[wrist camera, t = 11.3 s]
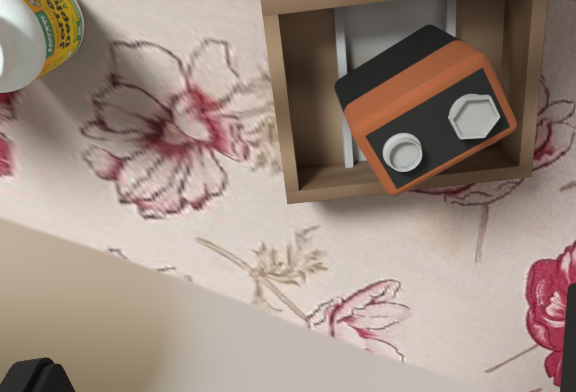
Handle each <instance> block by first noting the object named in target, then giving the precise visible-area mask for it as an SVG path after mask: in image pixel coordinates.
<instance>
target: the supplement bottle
mask: <svg viewBox="0 0 576 392" xmlns="http://www.w3.org/2000/svg"><path fill="white" fill-rule="evenodd" d="M83 36H84V18H83V14H82V12H81V9H80V7H79V5H78V3H77V1H76V0H0V93H6V92H12V91H16V90H19V89H21V88H23V87H25V86H27V85H28V84H30V83H32V82H33V81H35V80H36V79H38V78H40V77H41V76H43V75H44V74H46V73H48V72H49V71H51V70H53V69H54V68H56V67H58V66H59V65H61V64H62V63H64V62H65V61H67V60H68V59H70V58H71V57H72V56H73V55H74V54H75V53H76V52H77V50H78V49H79V47H80V45H81V42H82V39H83Z"/></svg>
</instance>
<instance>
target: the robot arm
mask: <svg viewBox="0 0 576 392" xmlns="http://www.w3.org/2000/svg"><path fill="white" fill-rule="evenodd" d="M0 392H75V390H74V388H73V386H72V385H71V382H70V380H69V378H68V376H67V375H66V372H65V370H64V369H63V367H62V366H61V365H60V364H55V363H54V362H53V361H52V360H51V359H50V358H39V359H32V360H26V361H19V362H16V363H15V364H13V365H12V366H11V368H10V369H9V371H8V373H7V374H6V376H5V378H4V379H3V381H2V383H1V384H0ZM560 392H576V283H574V284H570V285H569V287H568V294H567V307H566V320H565V334H564V347H563V361H562V374H561V387H560Z"/></svg>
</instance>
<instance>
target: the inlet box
mask: <svg viewBox="0 0 576 392" xmlns="http://www.w3.org/2000/svg"><path fill="white" fill-rule="evenodd" d="M547 5H548V0H261V6H262V14H263V21H264V29H265V36H266V44H267V52H268V59H269V67H270V75H271V82H272V90H273V97H274V105H275V113H276V120H277V128H278V136H279V143H280V151H281V158H282V166H283V174H284V181H285V189H286V196H287V204H294V203H303V202H312V201H321V200H329V199H338V198H347V197H356V196H365V195H374V194H383V193H387V192H386V190H385V189H384V187H383V186H382V184H381V182H380V181H379V179H378V177H377V176H376V174H375V172H374V171H373V169H372V168H371V166H370V164H369V163H368V161H367V159H366V158H365V156H364V154H363V153H362V151H361V150H360V148H359V146H358V145H357V143H356V141H355V140H354V138H353V136H352V134H351V132H350V129H349V126H348V124H347V121H346V118H345V116H344V113H343V110H342V108H341V105H340V102H339V100H338V97H337V94H336V92H335V88H334V86H335V83H336V81H337V80H338V79H340V78H341V77H343V76H344V75H346V74H348V73H349V72H351V71H352V70H354V69H356V68H357V67H359V66H360V65H362V64H364V63H365V62H367V61H369V60H370V59H372V58H373V57H375V56H377V55H378V54H380V53H382V52H383V51H385V50H386V49H388V48H390V47H391V46H393V45H395V44H396V43H398V42H399V41H401V40H403V39H404V38H406V37H407V36H409V35H411V34H412V33H414V32H416V31H417V30H419V29H420V28H422V27H424V26H426V25H434V26H436V27H438V28H440V29H441V30H443V31H445V32H447V33H449V34H450V35H452V36H454V37H456V38H457V39H459V40H461V41H463V42H465V43H466V44H468V45H470V46H472V47H473V48H475V49H477V50H479V51H480V52H482V53H484V54H485V55H486V56H487V58H488V59H489V62H490V64H491V66H492V68H493V70H494V72H495V75H496V77H497V79H498V81H499V83H500V85H501V88H502V90H503V92H504V94H505V96H506V99H507V101H508V103H509V105H510V107H511V109H512V112H513V114H514V116H515V118H516V121H517V127H516V129H515V130H514V131H513V132H512V133H511V134H509V135H507V136H506V137H504V138H502V139H500V140H498V141H497V142H495V143H493V144H491V145H489V146H487V147H486V148H484V149H482V150H480V151H478V152H476V153H475V154H473V155H471V156H469V157H467V158H465V159H464V160H462V161H460V162H458V163H456V164H454V165H453V166H451V167H449V168H447V169H445V170H443V171H442V172H440V173H438V174H436V175H434V176H433V177H431V178H429V179H427V180H425V181H423V182H422V183H420V184H418V185H416V186H414V187H412V188H411V189H409V190H407V191H410V190H418V189H427V188H436V187H445V186H454V185H463V184H472V183H481V182H490V181H499V180H507V179H516V178H525V177H532V168H533V157H534V146H535V135H536V124H537V113H538V103H539V92H540V81H541V70H542V59H543V48H544V37H545V26H546V16H547Z"/></svg>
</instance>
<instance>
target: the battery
mask: <svg viewBox="0 0 576 392" xmlns="http://www.w3.org/2000/svg"><path fill="white" fill-rule="evenodd" d="M334 88H335V92H336V94H337V97H338V100H339V102H340V105H341V108H342V110H343V113H344V116H345V118H346V121H347V124H348V126H349V129H350V132H351V134H352V136H353V138H354V140H355V141H356V143H357V145H358V146H359V148H360V150H361V151H362V153H363V154H364V156H365V158H366V159H367V161H368V163H369V164H370V166H371V168H372V169H373V171H374V172H375V174H376V176H377V177H378V179H379V181H380V182H381V184H382V186H383V187H384V189H385V190H386V192H387V193H388V194H390V195H393V196H395V195H399V194H401V193H403V192H405V191H407V190H409V189H411V188H412V187H414V186H416V185H418V184H420V183H422V182H423V181H425V180H427V179H429V178H431V177H433V176H434V175H436V174H438V173H440V172H442V171H443V170H445V169H447V168H449V167H451V166H453V165H454V164H456V163H458V162H460V161H462V160H464V159H465V158H467V157H469V156H471V155H473V154H475V153H476V152H478V151H480V150H482V149H484V148H486V147H487V146H489V145H491V144H493V143H495V142H497V141H498V140H500V139H502V138H504V137H506V136H507V135H509V134H511V133H512V132H513V131H514V130H515V129H516V127H517V121H516V118H515V116H514V114H513V112H512V109H511V107H510V105H509V103H508V101H507V99H506V96H505V94H504V92H503V90H502V88H501V85H500V83H499V81H498V79H497V77H496V75H495V72H494V70H493V68H492V66H491V64H490V62H489V59H488V58H487V56H486V55H485V54H484V53H482V52H480V51H479V50H477V49H475V48H473V47H472V46H470V45H468V44H466V43H465V42H463V41H461V40H459V39H457V38H456V37H454V36H452V35H450V34H449V33H447V32H445V31H443V30H441V29H440V28H438V27H436V26H434V25H426V26H424V27H422V28H420V29H419V30H417V31H416V32H414V33H412V34H411V35H409V36H407V37H406V38H404V39H403V40H401V41H399V42H398V43H396V44H395V45H393V46H391V47H390V48H388V49H386V50H385V51H383V52H382V53H380V54H378V55H377V56H375V57H373V58H372V59H370V60H369V61H367V62H365V63H364V64H362V65H360V66H359V67H357V68H356V69H354V70H352V71H351V72H349V73H348V74H346V75H344V76H343V77H341V78H340V79H338V80H337V81H336V83H335V86H334Z"/></svg>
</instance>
